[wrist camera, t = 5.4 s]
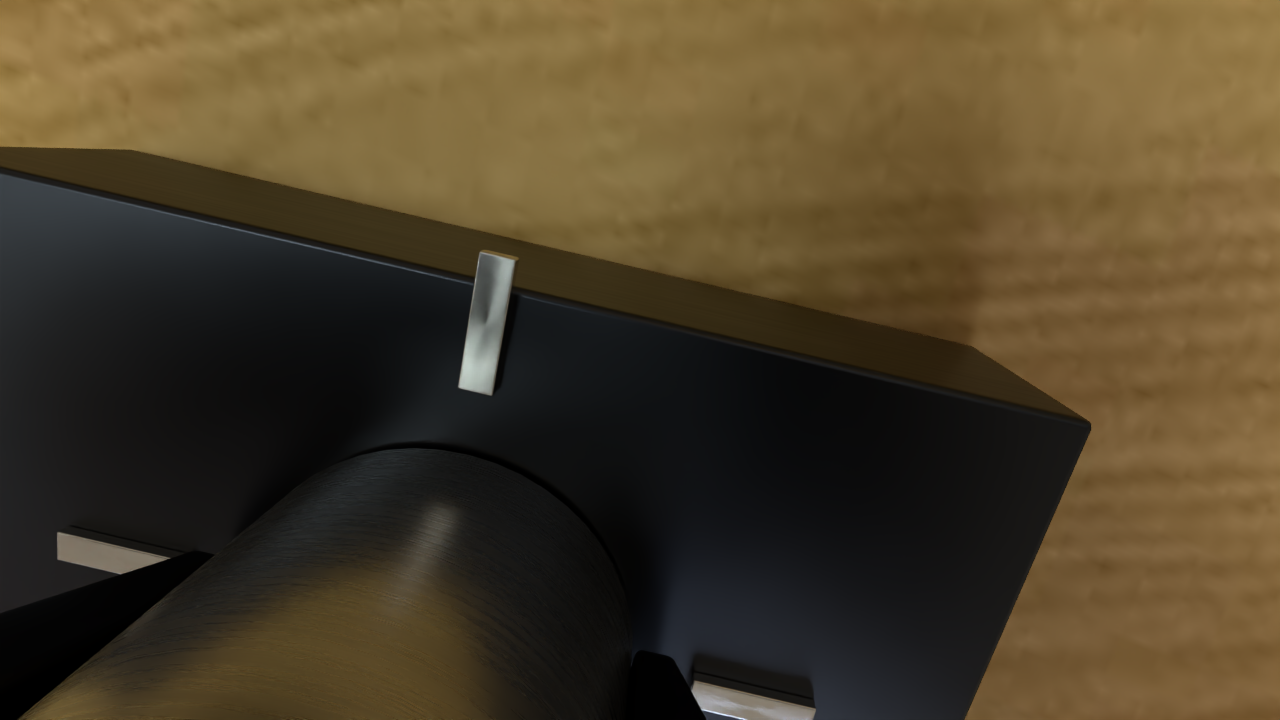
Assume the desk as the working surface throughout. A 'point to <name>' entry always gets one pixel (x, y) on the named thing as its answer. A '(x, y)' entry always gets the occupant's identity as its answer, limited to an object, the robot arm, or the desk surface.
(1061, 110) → the desk surface
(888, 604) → the lock panel
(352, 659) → the lock knob
